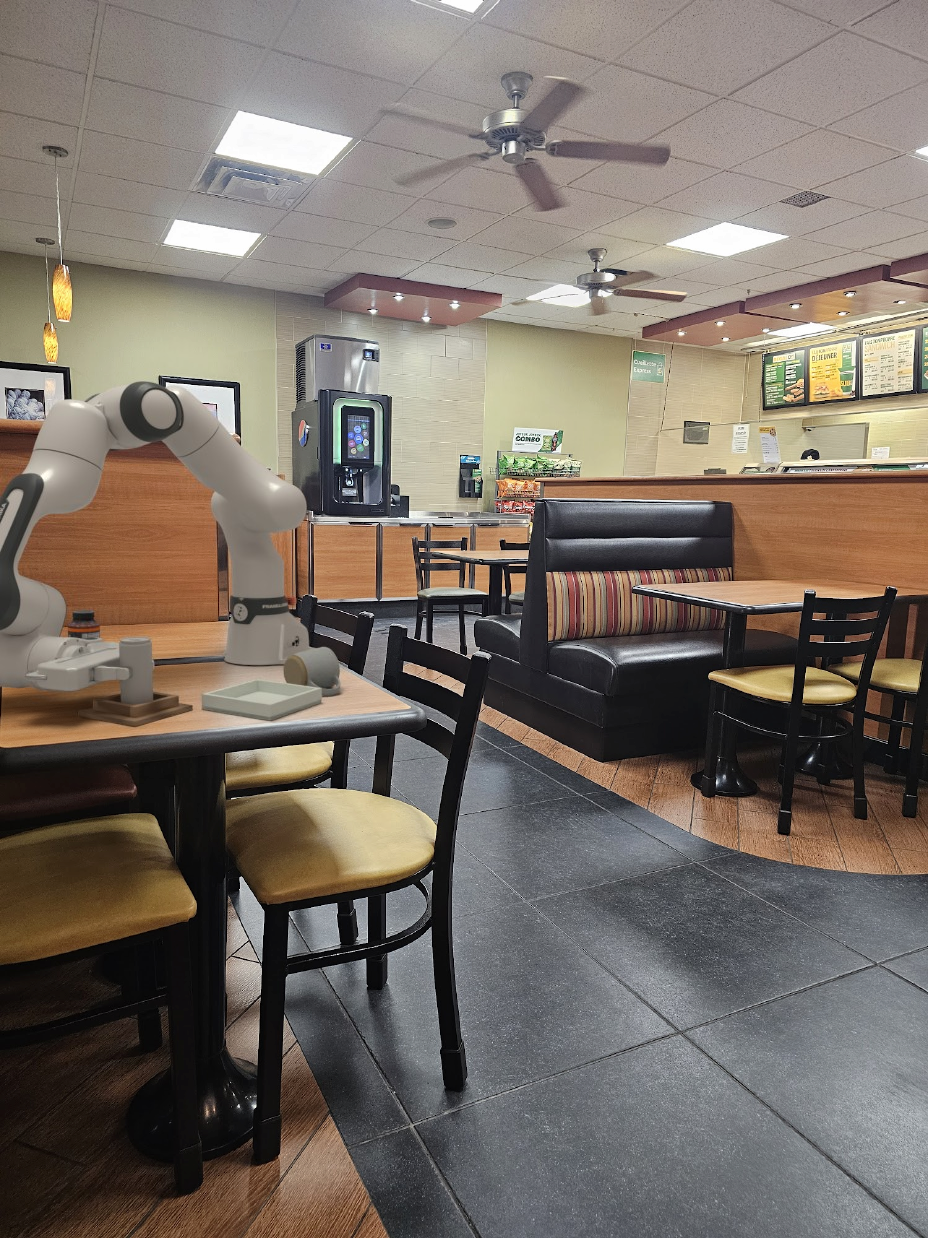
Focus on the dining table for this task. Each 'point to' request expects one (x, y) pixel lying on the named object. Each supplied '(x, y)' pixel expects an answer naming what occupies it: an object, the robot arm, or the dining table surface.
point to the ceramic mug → (314, 670)
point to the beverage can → (136, 670)
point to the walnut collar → (135, 709)
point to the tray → (262, 699)
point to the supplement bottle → (83, 625)
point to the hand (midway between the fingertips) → (141, 669)
